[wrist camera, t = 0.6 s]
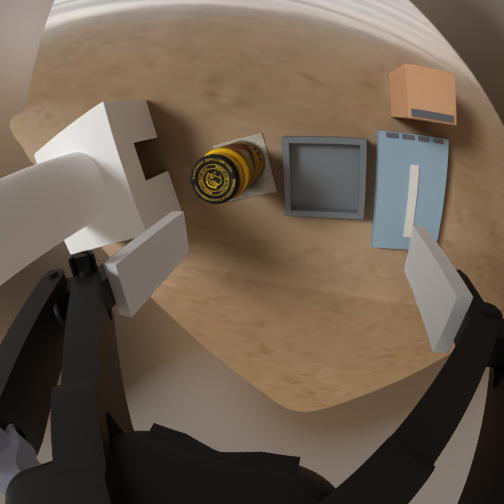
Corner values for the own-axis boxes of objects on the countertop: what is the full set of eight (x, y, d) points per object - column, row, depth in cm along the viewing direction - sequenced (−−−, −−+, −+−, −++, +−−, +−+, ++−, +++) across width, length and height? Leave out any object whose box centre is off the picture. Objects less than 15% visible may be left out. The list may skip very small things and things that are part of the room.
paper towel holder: (146, 99, 37) (-40, 129, 11) (181, 209, 44) (35, 331, 18) (73, 142, 43) (-64, 196, 17) (104, 231, 50) (-13, 321, 24)
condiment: (262, 132, 36) (235, 139, 25) (277, 191, 39) (258, 222, 29) (212, 145, 38) (171, 159, 28) (229, 200, 41) (195, 233, 31)
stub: (389, 73, 28) (405, 63, 21) (430, 80, 26) (454, 73, 19) (391, 116, 30) (408, 117, 23) (431, 122, 29) (457, 125, 22)
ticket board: (376, 130, 32) (379, 130, 30) (444, 138, 29) (449, 140, 28) (370, 242, 39) (372, 248, 37) (431, 246, 36) (435, 251, 35)
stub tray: (284, 136, 35) (282, 137, 33) (364, 138, 33) (366, 139, 31) (286, 211, 40) (285, 216, 38) (361, 214, 37) (363, 219, 36)
